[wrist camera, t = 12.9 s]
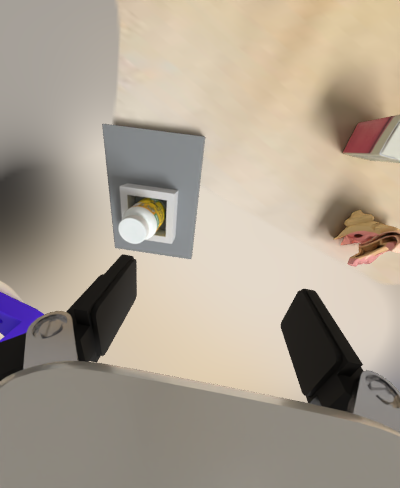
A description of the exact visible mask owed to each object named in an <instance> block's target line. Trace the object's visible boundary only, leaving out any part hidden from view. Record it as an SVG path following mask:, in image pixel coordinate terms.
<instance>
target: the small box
mask: <svg viewBox="0 0 400 488" xmlns="http://www.w3.org/2000/svg"><path fill="white" fill-rule="evenodd" d="M343 154H346V155H349V156H353V157H357V158H362V159H366V160H370V161H381V162H393V163H400V115H396V116H391V117H386V118H381V119H376V120H371V121H366V122H360V123H358V124H357V126H356V128H355V130H354V132H353V134H352V135H351V137H350V139H349V141H348V143H347V145H346V147H345V149H344V151H343Z"/></svg>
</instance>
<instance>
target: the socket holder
mask: <svg viewBox="0 0 400 488" xmlns="http://www.w3.org/2000/svg"><path fill="white" fill-rule="evenodd" d="M102 125H103V136H104V145H105V154H106V165H107V174H108V183H109V193H110V203H111V213H112V223H113V233H114V242H115V248H120V249H126V250H133V251H139V252H146V253H153V254H160V255H166V256H173V257H179V258H186V259H191V257H192V250H193V242H194V233H195V224H196V215H197V206H198V197H199V188H200V179H201V170H202V161H203V153H204V144H205V137H202V136H195V135H187V134H179V133H171V132H163V131H156V130H148V129H140V128H132V127H125V126H117V125H109V124H102ZM146 197H147V198H154V199H159V200H160V201H161V202H162V203H163V204H164V205H165V207H166V211H167V212H166V218H165V220H164V221H163V223H162V224H161V226H160V227H159V228H158V230H157V231H156V232H155V234H154V235H153V236H152V237H151V238H149V239H146V240H144V241H142V242H141V243H138V244H132V243H129V242H127V241H125V240H124V239H123V238H122V237H121V235H120V233H119V230H118V227H119V223H120V222H121V221H122V217H123V215H124V213H125V212H126V211H127V210H128V209H129V208H130V207H132V206H133V205H135V204H136V203H138V202H139V201H140V200H142V199H143V198H146Z"/></svg>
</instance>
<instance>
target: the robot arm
mask: <svg viewBox="0 0 400 488" xmlns="http://www.w3.org/2000/svg"><path fill="white" fill-rule="evenodd" d="M136 288H137V285H136V260H135V259H134V258H133V256H128V255H121V256H120V257H119V259H118V260H117V261H116V262H115V263H114V264H113V265H112V266H111V267H110V268H109V270H108V271H107V272H106V273H105V274H104V275H100V276H99V277H98V278H97V279H96V280H95V281H94V283H93V284H92V285H91V286H90V287H89V288H88V289H87V290H86V291H85V292H84V293H83V294H82V295H81V297H80V298H79V299H78V300H77V301H76V302H75V303H74V304H73V305H72V306H71V307H70V309H69V310H68V311H67V312H63V311H55V312H50V313H47V314H45V315H43V316H41V317H39V318H37V319H36V320H35V321H34V322H33V323H31V325H30V326H29V327H28V330H27V333H24V334H21V335H19V336H16V337H13V338H11V339H8V340H5V341H2V342H0V488H400V392H399V391H398V389H397V388H396V387H395V386H394V385H393V384H392V383H391V382H390V381H388V380H387V379H386V378H384V377H383V376H381V375H379V374H378V373H375V372H373V371H367V370H366V371H363V370H362V368H361V366H362V365H363V364H362V363H361V361H360V360H359V358H358V356H357V355H356V353H355V352H354V350H353V349H352V347H351V346H350V344H349V343H348V341H347V339H346V338H345V336H344V335H343V333H342V332H341V330H340V328H339V327H338V325H337V324H336V322H335V321H334V319H333V318H332V316H331V315H330V313H329V312H328V310H327V308H326V307H325V305H324V304H323V302H322V301H321V299H320V298H319V296H318V294H317V293H316V292H315V291H313V290H308V289H302V290H301V291H298V293H297V294H296V296H295V298H294V300H293V302H292V304H291V306H290V307H289V310H288V311H287V313H286V315H285V317H284V318H283V320H282V322H281V329H282V332H283V335H284V339H285V342H286V344H287V348H288V351H289V354H290V357H291V360H292V363H293V366H294V369H295V372H296V375H297V378H298V381H299V384H300V387H301V390H302V393H303V394H304V395H305V396H306V398H307V401H308V403H305V402H300V401H294V400H290V399H284V398H280V397H275V396H270V395H265V394H260V393H255V392H250V391H245V390H240V389H235V388H230V387H225V386H220V385H214V384H210V383H204V382H199V381H194V380H189V379H183V378H179V377H173V376H168V375H163V374H158V373H152V372H147V371H142V370H137V369H131V368H125V367H119V366H113V365H108V364H102V363H93V362H97V361H98V359H99V358H100V356H103V355H105V353H106V352H107V350H108V348H109V346H110V344H111V343H112V341H113V339H114V337H115V335H116V334H117V332H118V330H119V328H120V326H121V325H122V323H123V321H124V319H125V317H126V316H127V314H128V312H129V310H130V308H131V307H132V305H133V303H134V301H135V299H136V295H137V289H136ZM89 361H92V362H89Z"/></svg>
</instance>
